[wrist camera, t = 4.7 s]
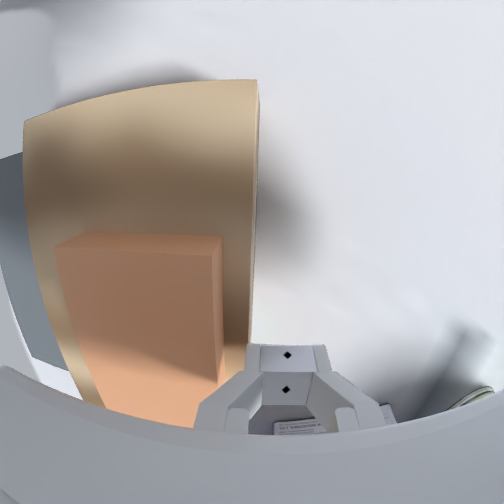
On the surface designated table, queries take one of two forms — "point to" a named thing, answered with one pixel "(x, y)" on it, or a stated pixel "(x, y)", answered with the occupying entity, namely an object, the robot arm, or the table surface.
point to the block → (147, 319)
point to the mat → (23, 266)
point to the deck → (147, 189)
